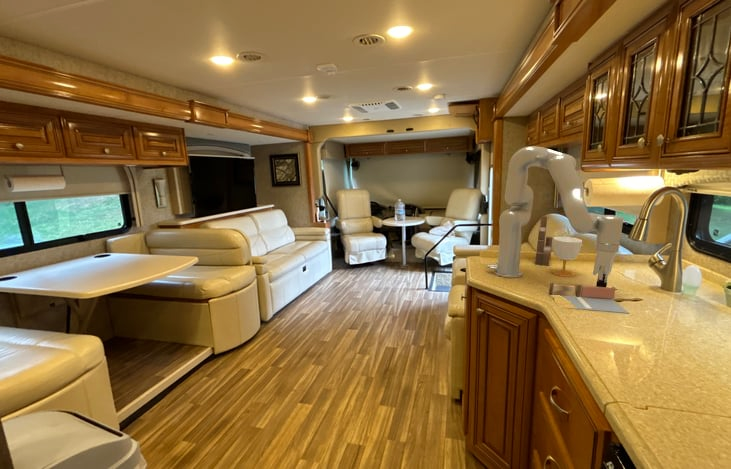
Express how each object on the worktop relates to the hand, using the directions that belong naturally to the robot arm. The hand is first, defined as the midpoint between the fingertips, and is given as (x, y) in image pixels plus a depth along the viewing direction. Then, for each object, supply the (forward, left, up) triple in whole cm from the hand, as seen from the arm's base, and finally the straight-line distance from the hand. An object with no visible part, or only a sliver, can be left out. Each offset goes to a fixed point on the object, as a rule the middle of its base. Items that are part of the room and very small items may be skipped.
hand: (600, 291), depth 133 cm
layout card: (-9, -10, -2) cm, 14 cm away
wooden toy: (-10, +46, -2) cm, 47 cm away
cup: (-6, +26, -2) cm, 26 cm away
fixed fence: (-14, -5, -1) cm, 15 cm away
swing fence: (-3, -5, -1) cm, 6 cm away
